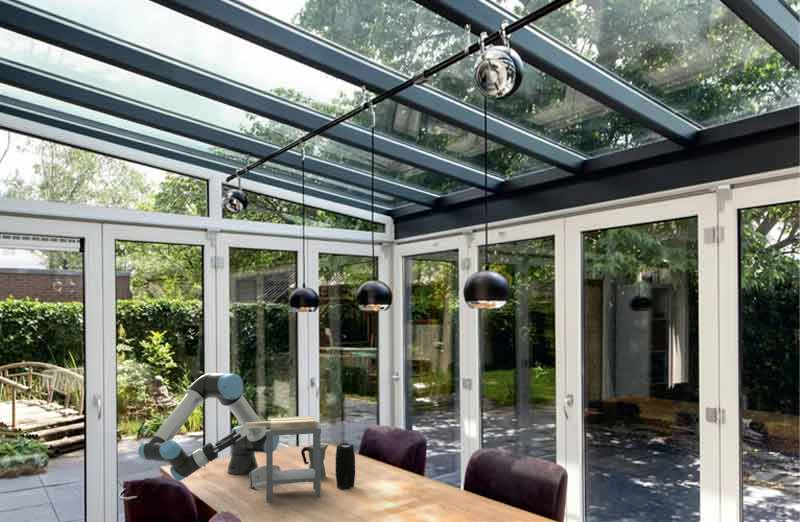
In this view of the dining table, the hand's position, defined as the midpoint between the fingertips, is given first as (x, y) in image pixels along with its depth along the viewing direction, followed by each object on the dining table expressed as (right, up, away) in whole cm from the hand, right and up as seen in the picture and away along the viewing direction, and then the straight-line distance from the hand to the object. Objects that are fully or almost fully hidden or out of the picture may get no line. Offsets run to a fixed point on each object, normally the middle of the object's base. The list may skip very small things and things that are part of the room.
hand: (248, 427), depth 276 cm
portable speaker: (+42, -31, +11) cm, 54 cm away
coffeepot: (+26, -33, +29) cm, 51 cm away
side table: (+20, -30, +2) cm, 36 cm away
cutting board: (+14, -1, +3) cm, 14 cm away
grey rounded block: (+4, -32, +18) cm, 37 cm away
